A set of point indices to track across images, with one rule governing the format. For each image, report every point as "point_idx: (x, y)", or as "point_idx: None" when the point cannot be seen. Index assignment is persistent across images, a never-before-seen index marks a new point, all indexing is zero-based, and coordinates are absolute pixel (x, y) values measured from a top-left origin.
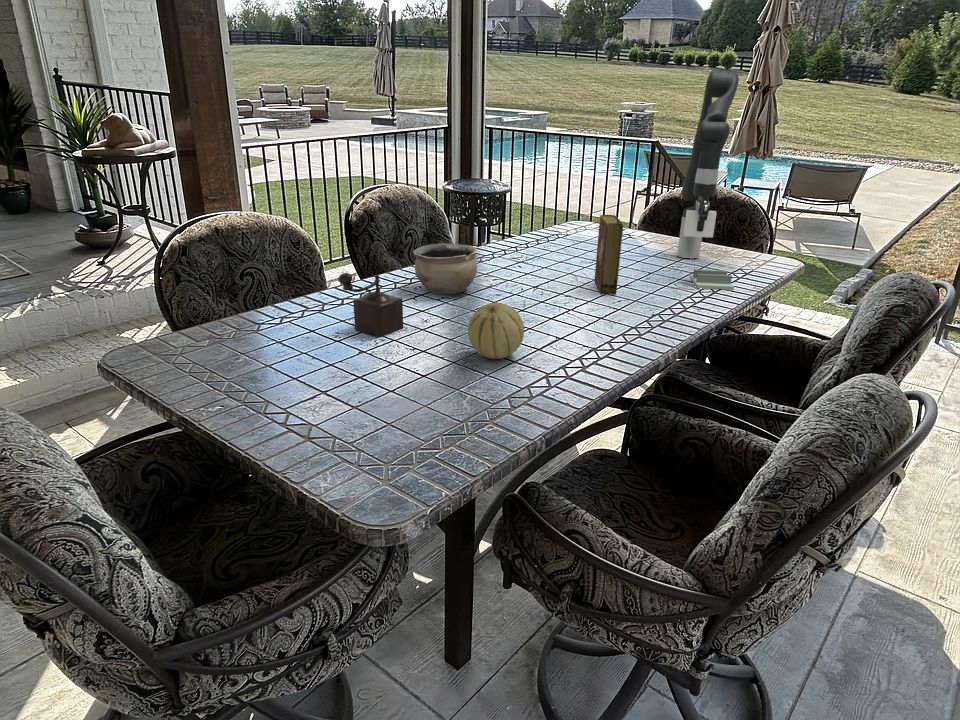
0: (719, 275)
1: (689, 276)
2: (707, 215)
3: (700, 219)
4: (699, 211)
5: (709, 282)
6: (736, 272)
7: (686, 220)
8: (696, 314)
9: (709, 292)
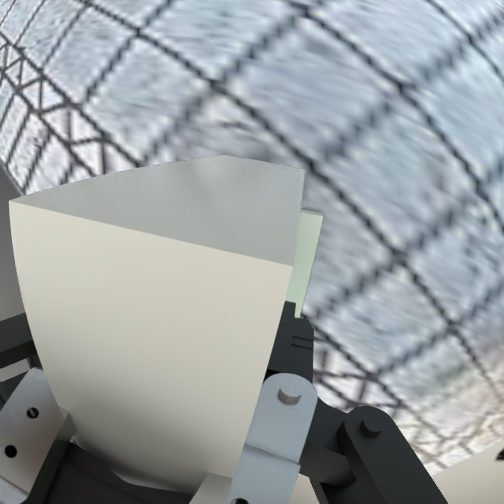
0: None
1: (321, 214)
2: (5, 390)
3: None
4: (25, 405)
5: None
6: (374, 389)
7: (173, 169)
8: (18, 131)
9: None
